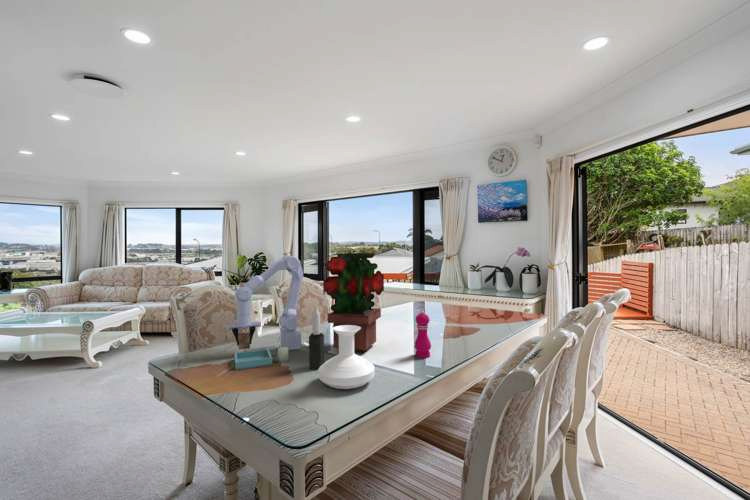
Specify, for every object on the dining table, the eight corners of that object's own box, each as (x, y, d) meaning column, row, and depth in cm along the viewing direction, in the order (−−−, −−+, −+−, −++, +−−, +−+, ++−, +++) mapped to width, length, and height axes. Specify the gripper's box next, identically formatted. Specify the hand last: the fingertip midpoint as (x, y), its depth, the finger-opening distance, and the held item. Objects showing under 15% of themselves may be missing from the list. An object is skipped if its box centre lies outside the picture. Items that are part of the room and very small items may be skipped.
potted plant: (324, 353, 158) (323, 254, 158) (342, 340, 180) (341, 253, 179) (370, 357, 152) (369, 253, 152) (384, 343, 173) (383, 252, 173)
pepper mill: (430, 353, 157) (430, 308, 157) (431, 358, 150) (431, 311, 149) (414, 353, 157) (414, 308, 157) (414, 358, 150) (414, 311, 150)
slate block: (274, 352, 161) (274, 346, 161) (275, 355, 157) (275, 348, 157) (265, 353, 159) (265, 347, 159) (266, 356, 156) (266, 349, 156)
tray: (268, 355, 156) (268, 348, 156) (272, 365, 143) (272, 357, 143) (234, 359, 151) (234, 352, 150) (235, 370, 138) (235, 362, 138)
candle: (320, 369, 137) (319, 306, 137) (308, 369, 138) (307, 305, 138) (325, 365, 142) (324, 304, 142) (313, 364, 143) (312, 303, 143)
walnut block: (249, 345, 160) (249, 332, 160) (249, 348, 156) (249, 334, 155) (238, 346, 158) (238, 333, 158) (238, 349, 154) (238, 335, 154)
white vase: (346, 368, 138) (345, 320, 138) (386, 380, 125) (385, 326, 125) (306, 384, 123) (305, 329, 123) (347, 399, 110) (347, 338, 110)
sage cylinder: (287, 357, 153) (287, 346, 153) (289, 360, 148) (289, 349, 148) (277, 359, 151) (276, 347, 151) (278, 362, 147) (278, 350, 147)
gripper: (259, 311, 163) (260, 340, 163) (226, 313, 157) (226, 344, 158) (261, 313, 157) (261, 344, 157) (225, 316, 151) (226, 348, 151)
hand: (244, 344), depth 157 cm, fingers closed on walnut block, 4 cm apart
